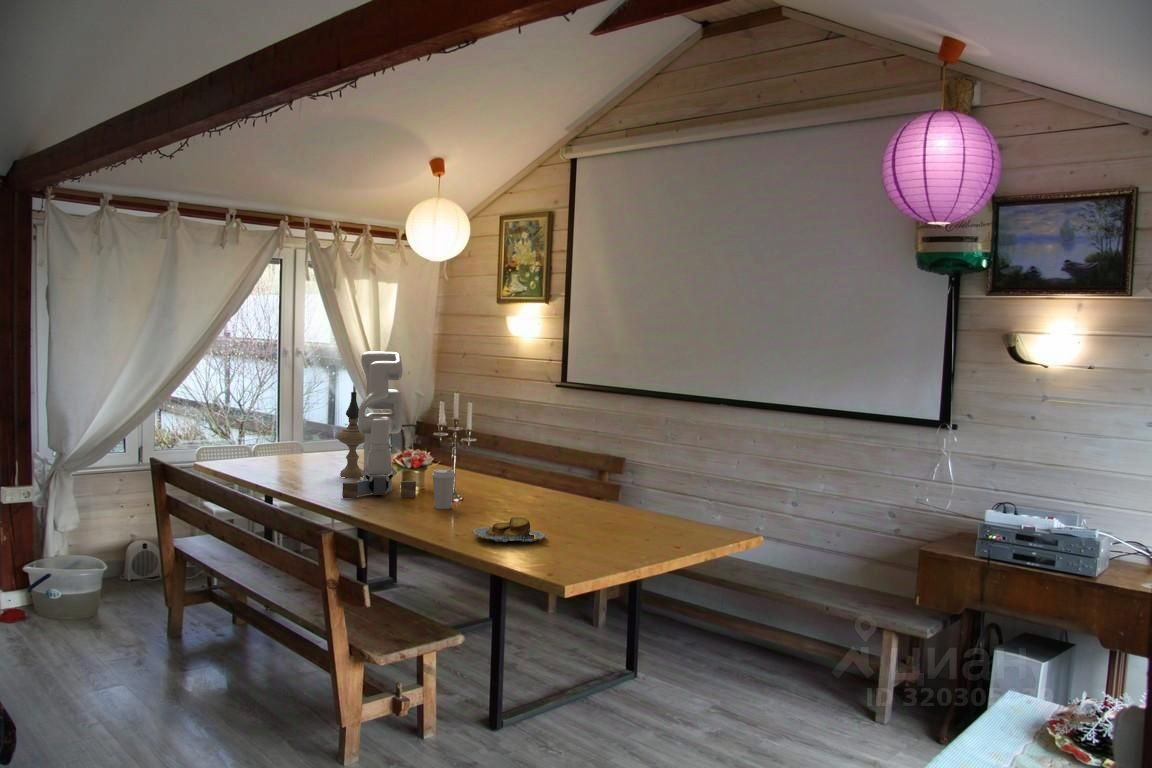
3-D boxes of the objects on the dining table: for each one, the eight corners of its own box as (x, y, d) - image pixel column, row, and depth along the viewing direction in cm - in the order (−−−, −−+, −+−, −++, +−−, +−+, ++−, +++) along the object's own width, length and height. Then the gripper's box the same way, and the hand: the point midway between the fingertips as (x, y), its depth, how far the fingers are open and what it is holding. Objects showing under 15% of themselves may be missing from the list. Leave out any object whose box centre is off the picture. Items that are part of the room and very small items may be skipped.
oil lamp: (337, 473, 414) (338, 390, 412) (369, 473, 417) (371, 391, 414) (334, 479, 400) (335, 393, 397) (367, 479, 402) (369, 393, 400)
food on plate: (459, 536, 305) (460, 517, 305) (517, 528, 320) (518, 510, 320) (498, 552, 285) (499, 532, 285) (559, 543, 300) (559, 524, 300)
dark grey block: (371, 492, 368) (372, 475, 367) (383, 492, 369) (384, 475, 369) (373, 494, 361) (374, 478, 361) (385, 494, 363) (386, 477, 363)
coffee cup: (443, 511, 342) (444, 473, 341) (425, 507, 348) (426, 470, 346) (459, 507, 350) (460, 470, 349) (442, 503, 355) (443, 467, 354)
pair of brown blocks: (342, 497, 360) (342, 482, 359) (414, 496, 369) (415, 481, 369) (342, 498, 358) (342, 483, 357) (415, 497, 367) (416, 481, 367)
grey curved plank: (354, 495, 363) (354, 481, 363) (388, 489, 378) (388, 476, 377) (357, 496, 362) (358, 481, 362) (391, 490, 376) (391, 476, 376)
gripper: (399, 446, 371) (398, 488, 372) (358, 446, 366) (357, 489, 366) (401, 448, 364) (400, 491, 365) (359, 448, 359) (358, 492, 359)
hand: (378, 490), depth 365 cm, fingers closed on dark grey block, 5 cm apart
